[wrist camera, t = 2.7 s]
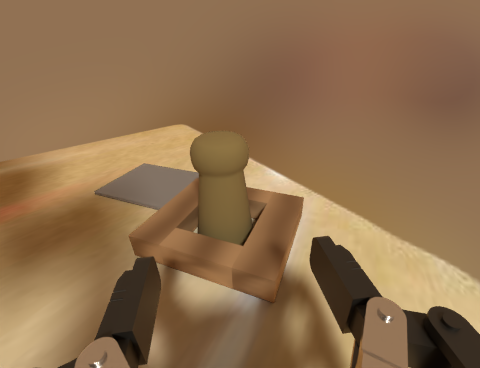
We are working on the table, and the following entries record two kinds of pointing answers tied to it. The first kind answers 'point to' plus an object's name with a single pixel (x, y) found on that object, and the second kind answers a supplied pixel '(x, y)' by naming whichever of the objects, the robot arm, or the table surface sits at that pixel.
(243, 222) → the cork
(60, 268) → the table surface
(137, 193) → the rubber mat
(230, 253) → the socket block
